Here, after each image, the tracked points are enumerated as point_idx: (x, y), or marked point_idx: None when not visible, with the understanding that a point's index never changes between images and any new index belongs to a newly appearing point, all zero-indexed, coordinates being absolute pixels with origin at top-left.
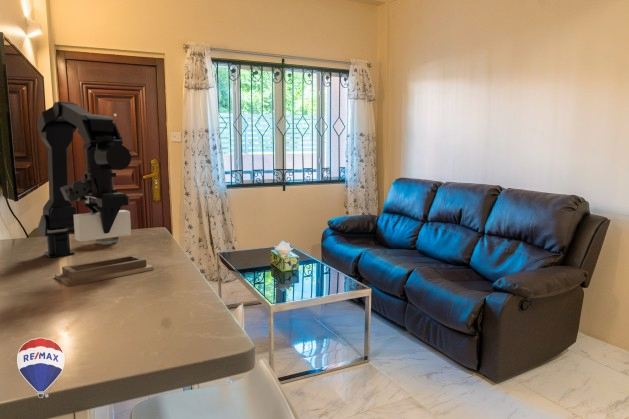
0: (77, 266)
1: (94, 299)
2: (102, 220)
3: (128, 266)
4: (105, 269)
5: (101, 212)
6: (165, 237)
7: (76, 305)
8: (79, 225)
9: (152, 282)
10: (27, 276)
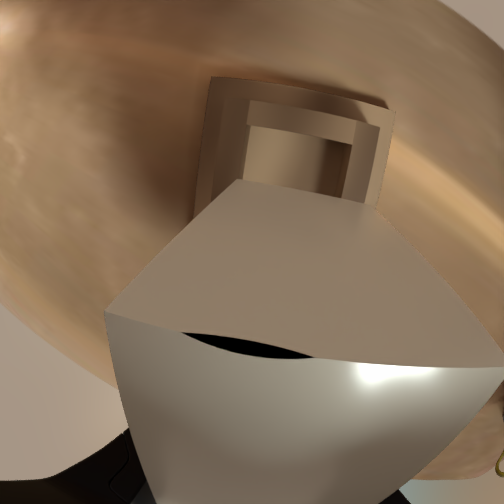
0: (343, 180)
1: (45, 99)
2: (120, 436)
3: None
4: None
5: (42, 480)
6: (430, 476)
7: (43, 54)
8: (194, 228)
9: (72, 276)
10: (474, 79)
